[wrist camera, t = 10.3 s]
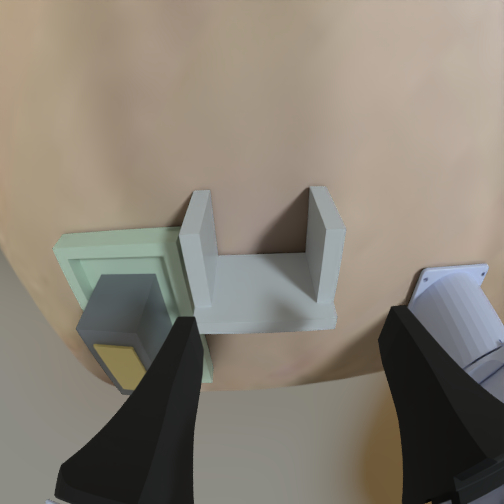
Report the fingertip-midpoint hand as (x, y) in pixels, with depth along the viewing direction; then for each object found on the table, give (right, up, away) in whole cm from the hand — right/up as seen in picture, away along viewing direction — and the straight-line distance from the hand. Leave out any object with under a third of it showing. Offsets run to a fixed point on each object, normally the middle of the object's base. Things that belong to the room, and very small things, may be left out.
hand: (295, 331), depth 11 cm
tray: (-11, -2, +14) cm, 18 cm away
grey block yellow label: (-11, -2, +13) cm, 17 cm away
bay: (-1, +4, +9) cm, 10 cm away
